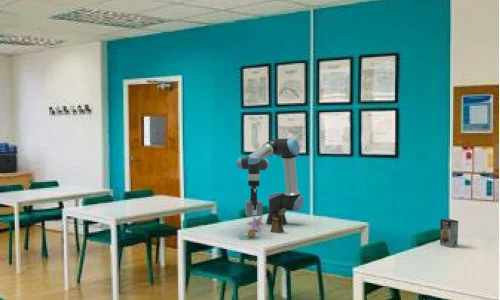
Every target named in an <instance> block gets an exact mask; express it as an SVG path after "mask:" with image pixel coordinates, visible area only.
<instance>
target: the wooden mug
mask: <svg viewBox="0 0 500 300" xmlns="http://www.w3.org/2000/svg"><path fill="white" fill-rule="evenodd" d="M286 213H287V210H286V208H282V209H280V210H279V212H278V214H279V215H273V218H272V225H271V227H270V232H271V233H279V234H280V233H284V232H285V231H284V230H285V229H284V225H283V215H284V214H286Z"/></svg>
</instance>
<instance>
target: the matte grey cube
mask: <svg viewBox="0 0 500 300" xmlns="http://www.w3.org/2000/svg"><path fill="white" fill-rule="evenodd" d="M252 204H253V201H250V200H245V202H244V212H245V215H246V217H261V216H263V202H262V200H257V215H253V205H252Z"/></svg>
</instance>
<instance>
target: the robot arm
mask: <svg viewBox="0 0 500 300" xmlns="http://www.w3.org/2000/svg"><path fill="white" fill-rule="evenodd" d="M300 149H301V148H300V143H299V142H298V140H297V139H295V138H274V139H271V140H269V141H266V142H265V143H263V144H262V146H261V147H260V148H258V149H256V150H255V151H253V152H251V153H250V154H249V155H247V156H245V157H242V158H241V157H239V158H238V159H237V161H236V167H237V169H238V170H248V171H247V174H248V175H246V176H247V180H248V181H247V186H248V187H250V200H249V201H253V204H252V205H253V215H257V201H258V189H257V187H260V185H261V184H260V175H261V174H260V172H261V171H265V170H268V169H269V168H270V161H269V160H268V159H267V157H269V156H272V155H280V158H281V159H282V160H283V168H284V169H283V171H284V181H285V182H284V183H285V192H283V191H282V192H280V191H279V192H273V193H269V194H268V215H267V216H266V217H267V218H266V222H265V223H266V224H267V225H271V226H272V218H273V215H279V214H278V212H279V210H280V209H282V208H286V211H289V212H290V211H291V212H300V211H301V210H302V209H303V206H304V205H305V199H304V196H303V195H301V192H300V191H299V190H298V189H299V188H298V178H297V177H298V176H297V165H296V164H297V162H296V158H298V155H299V154H300ZM285 214H286V213H285ZM285 214H284V215H283V226H284V225H287V218H286V217H287V216H286V215H285Z"/></svg>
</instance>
